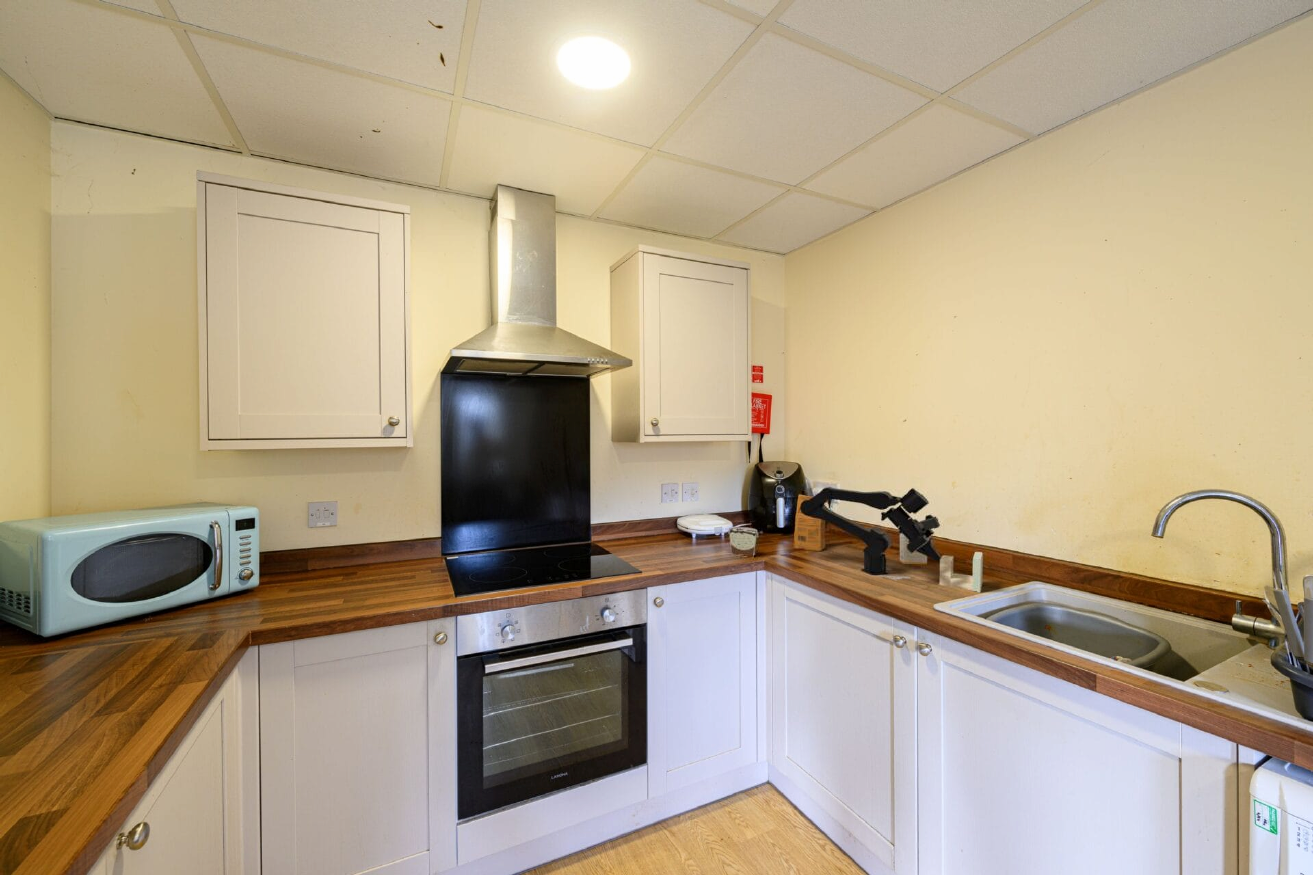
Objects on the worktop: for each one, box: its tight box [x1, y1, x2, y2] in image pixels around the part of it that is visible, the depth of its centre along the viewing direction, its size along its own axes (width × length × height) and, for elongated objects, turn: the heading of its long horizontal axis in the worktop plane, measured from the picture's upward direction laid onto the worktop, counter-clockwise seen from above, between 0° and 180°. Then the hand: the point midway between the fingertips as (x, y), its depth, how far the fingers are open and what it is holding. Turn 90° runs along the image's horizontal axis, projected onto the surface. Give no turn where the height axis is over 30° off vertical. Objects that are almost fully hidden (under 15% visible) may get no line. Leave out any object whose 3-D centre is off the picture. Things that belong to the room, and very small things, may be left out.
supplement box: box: [899, 533, 928, 566], centre depth 194 cm, size 8×5×13 cm, turn 84°
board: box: [971, 551, 984, 593], centre depth 164 cm, size 2×11×10 cm, turn 146°
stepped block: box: [939, 554, 973, 591], centre depth 167 cm, size 9×8×8 cm
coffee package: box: [793, 494, 826, 552], centre depth 217 cm, size 10×12×22 cm
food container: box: [727, 526, 759, 556], centre depth 206 cm, size 12×6×10 cm, turn 58°
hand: (940, 560), depth 169 cm, fingers closed, pressing on stepped block
